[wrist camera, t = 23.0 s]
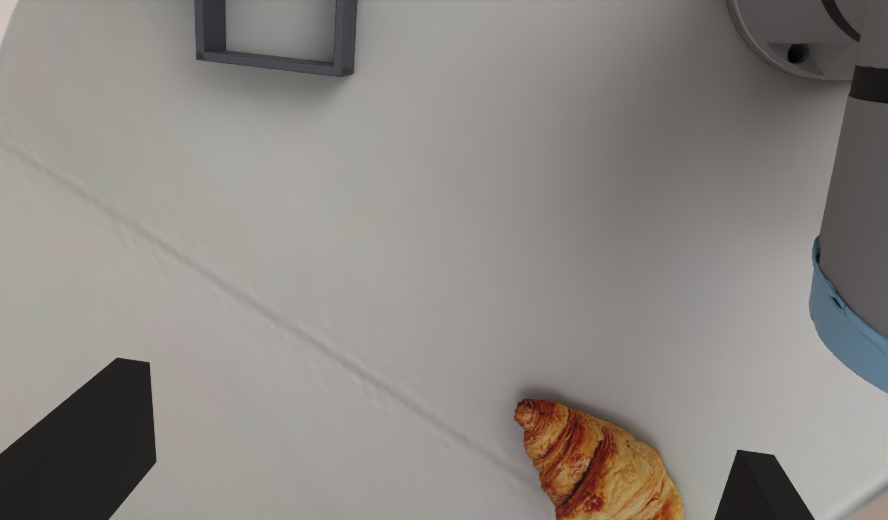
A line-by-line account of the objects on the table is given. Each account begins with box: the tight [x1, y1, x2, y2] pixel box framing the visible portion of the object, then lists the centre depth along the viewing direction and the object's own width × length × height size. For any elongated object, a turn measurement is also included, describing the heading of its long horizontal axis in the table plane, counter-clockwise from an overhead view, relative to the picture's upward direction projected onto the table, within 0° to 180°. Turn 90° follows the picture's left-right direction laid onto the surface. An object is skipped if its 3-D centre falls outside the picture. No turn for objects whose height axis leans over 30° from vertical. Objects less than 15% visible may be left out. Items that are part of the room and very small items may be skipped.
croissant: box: [514, 399, 685, 520], centre depth 52 cm, size 21×10×8 cm, turn 47°
